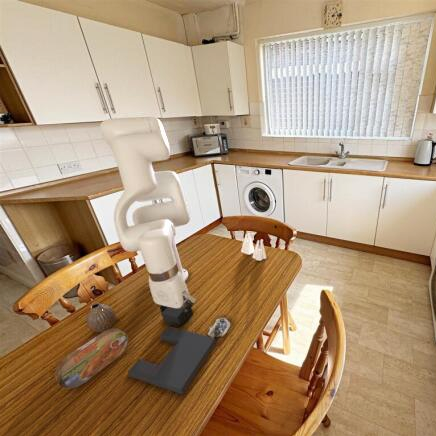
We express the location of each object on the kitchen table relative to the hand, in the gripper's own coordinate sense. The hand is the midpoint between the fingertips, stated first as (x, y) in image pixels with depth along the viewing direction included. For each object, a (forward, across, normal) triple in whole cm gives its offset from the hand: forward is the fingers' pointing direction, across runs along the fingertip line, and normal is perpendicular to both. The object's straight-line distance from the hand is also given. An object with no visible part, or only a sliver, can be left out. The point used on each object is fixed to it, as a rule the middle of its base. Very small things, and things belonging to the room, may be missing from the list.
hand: (178, 315), depth 76 cm
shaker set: (+1, +9, +38) cm, 39 cm away
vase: (+1, -20, -9) cm, 22 cm away
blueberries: (+1, +15, 0) cm, 15 cm away
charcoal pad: (+1, +9, -12) cm, 15 cm away
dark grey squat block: (+1, 0, 0) cm, 1 cm away
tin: (+1, -9, -19) cm, 21 cm away
